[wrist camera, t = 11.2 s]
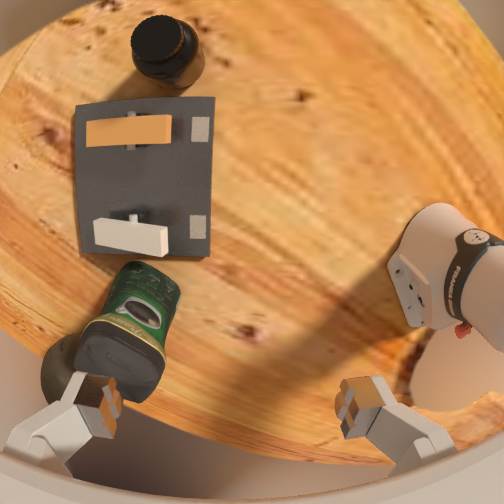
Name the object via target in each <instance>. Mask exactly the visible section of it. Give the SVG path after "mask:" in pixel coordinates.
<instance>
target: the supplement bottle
mask: <svg viewBox="0 0 504 504" xmlns="http://www.w3.org/2000/svg"><path fill="white" fill-rule="evenodd" d="M131 47H132V60H133V63H134V65H135V66H136V68H137V69H138V70H139V71H140V72H141V73H142V74H143V75H145V76H146V77H148V78H149V79H151V80H152V81H154V82H155V83H157V84H158V85H160V86H162V87H164V88H167V89H182V88H185V87H187V86H189V85H191V84H193V83H194V82H195V81H196V80H197V79H198V78H199V77H200V75H201V74H202V72H203V69H204V65H205V58H204V54H203V50H202V48H201V45H200V42H199V39H198V36H197V34H196V32H195V31H194V29H193V28H192V27H191V26H190V25H189V24H187V23H185V22H184V21H181V20H178V19H174V18H172V17H169V16H167V15H165V16H164V15H156V16H152V17H150V18H147V19H146V20H144V21H142V22H141V23H140V24H139V25H138V26H137V27H136V28H135V30H134V31H133V35H132V36H131Z"/></svg>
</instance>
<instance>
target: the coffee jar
mask: <svg viewBox="0 0 504 504" xmlns="http://www.w3.org/2000/svg"><path fill="white" fill-rule="evenodd" d="M180 297H181V292H180V289H179V287H178V285H177V284H176V283H175V282H174V281H173V280H171V279H170V278H169V277H167V276H166V275H165V274H163V273H162V272H160V271H159V270H157V269H155V268H154V267H152V266H150V265H148V264H146V263H144V262H141V261H131V262H129V263H127V264H126V265H125V266H124V267H123V268H122V269H121V271H120V272H119V274H118V275H117V277H116V279H115V281H114V283H113V285H112V287H111V290H110V292H109V295H108V298H107V300H106V302H105V305H104V307H103V309H102V311H101V313H100V315H99V316H97V317H95V318H94V319H92V320H91V321H90V322H89V323H88V324H87V326H86V327H85V329H84V331H83V333H82V335H81V337H80V340H79V343H78V347H77V351H76V354H75V358H74V368H75V369H76V370H77V371H80V372H86V373H92V374H98V375H104V376H110V377H114V378H115V381H116V384H117V385H116V388H115V389H116V390H117V391H118V392H119V393H120V396H121V398H123V399H126V400H129V401H132V402H136V403H142V402H143V401H144V400H146V399H147V398H148V397H149V396H150V395H151V394H152V392H153V391H154V390H155V388H156V386H157V385H158V383H159V381H160V379H161V376H162V374H163V372H164V370H165V367H166V354H165V349H164V345H165V339H166V336H167V332H168V330H169V327H170V324H171V322H172V320H173V317H174V315H175V313H176V310H177V308H178V305H179V302H180Z"/></svg>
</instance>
